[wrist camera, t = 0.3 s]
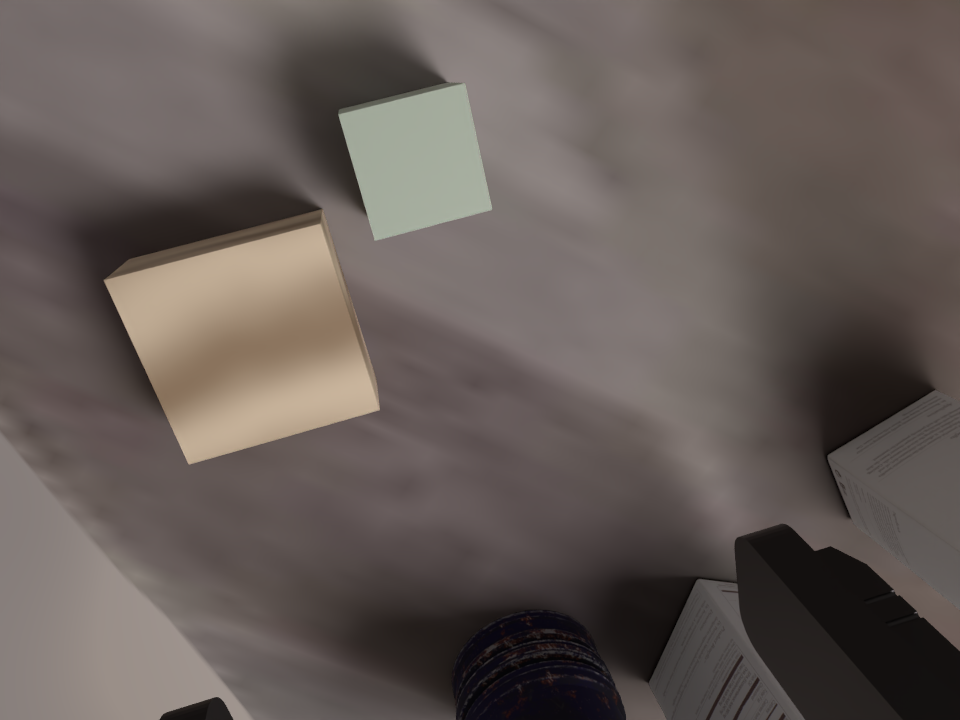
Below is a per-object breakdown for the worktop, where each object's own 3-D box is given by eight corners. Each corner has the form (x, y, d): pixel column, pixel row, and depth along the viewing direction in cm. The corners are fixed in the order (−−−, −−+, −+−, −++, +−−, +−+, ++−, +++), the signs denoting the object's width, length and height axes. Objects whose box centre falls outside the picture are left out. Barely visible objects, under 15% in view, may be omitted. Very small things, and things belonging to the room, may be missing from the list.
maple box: (130, 257, 32) (103, 280, 28) (322, 207, 33) (320, 223, 29) (204, 425, 36) (189, 464, 32) (375, 376, 36) (379, 410, 33)
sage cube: (338, 109, 31) (338, 114, 27) (447, 82, 32) (464, 82, 27) (370, 218, 33) (374, 240, 29) (471, 192, 34) (492, 209, 29)
